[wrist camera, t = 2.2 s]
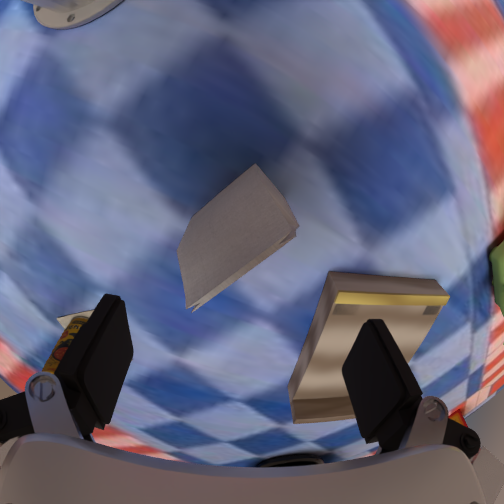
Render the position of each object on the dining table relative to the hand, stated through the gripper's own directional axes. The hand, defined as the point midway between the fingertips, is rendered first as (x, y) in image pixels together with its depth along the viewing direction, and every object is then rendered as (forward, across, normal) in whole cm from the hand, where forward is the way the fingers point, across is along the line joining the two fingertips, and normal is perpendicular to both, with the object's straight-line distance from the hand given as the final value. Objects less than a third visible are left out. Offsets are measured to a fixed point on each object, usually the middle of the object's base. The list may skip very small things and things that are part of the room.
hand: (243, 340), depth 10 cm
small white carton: (+14, +1, -1) cm, 14 cm away
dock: (+14, -15, +13) cm, 25 cm away
